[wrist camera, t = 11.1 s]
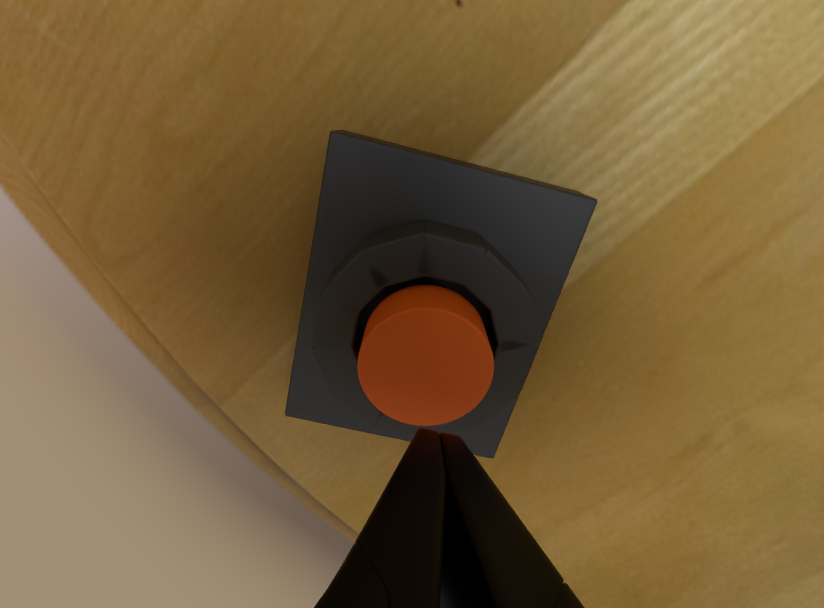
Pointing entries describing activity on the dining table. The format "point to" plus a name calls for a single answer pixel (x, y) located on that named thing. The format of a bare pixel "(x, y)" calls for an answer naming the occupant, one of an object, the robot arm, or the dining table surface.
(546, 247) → the button box
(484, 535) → the robot arm
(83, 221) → the dining table surface
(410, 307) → the button
